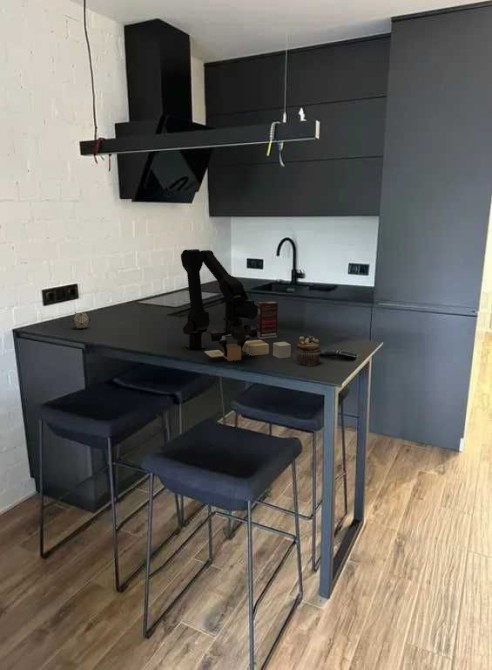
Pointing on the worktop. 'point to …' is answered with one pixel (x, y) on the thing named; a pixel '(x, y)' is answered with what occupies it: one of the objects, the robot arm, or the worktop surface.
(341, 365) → the worktop surface
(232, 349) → the terracotta cube
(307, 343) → the cupcake
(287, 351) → the grey plastic cube
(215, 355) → the card
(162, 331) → the worktop surface
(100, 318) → the worktop surface
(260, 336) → the supplement box
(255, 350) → the maple base block
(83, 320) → the beige faceted ball
